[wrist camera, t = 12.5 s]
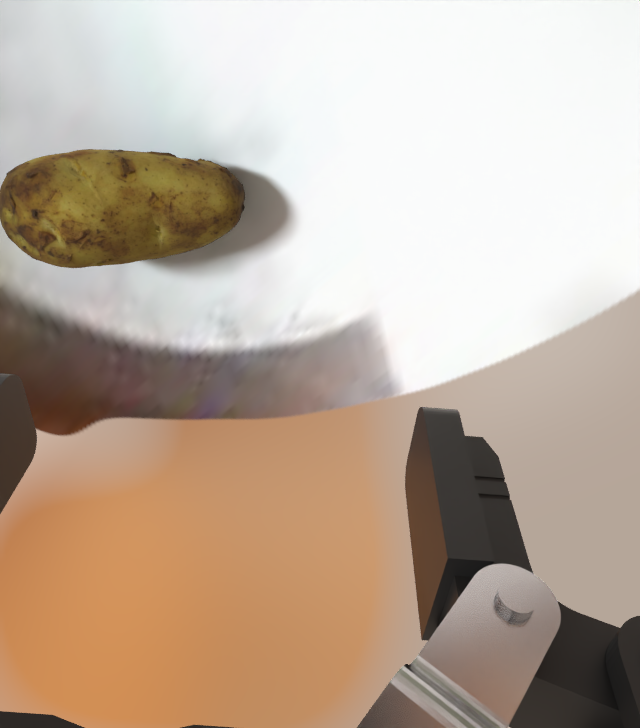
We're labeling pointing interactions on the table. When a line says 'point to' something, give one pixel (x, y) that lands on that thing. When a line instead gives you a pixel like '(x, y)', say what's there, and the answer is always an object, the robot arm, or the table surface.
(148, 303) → the table surface
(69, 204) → the potato
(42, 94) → the table surface
